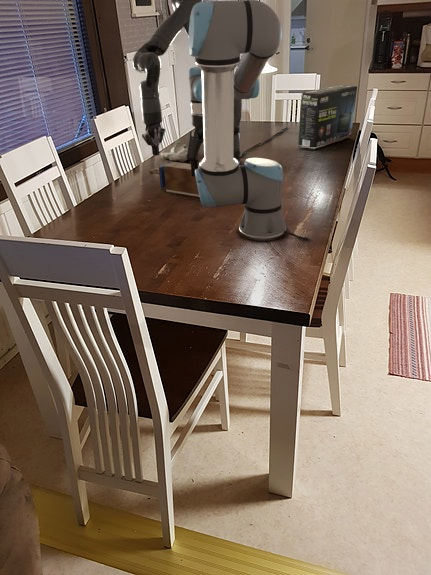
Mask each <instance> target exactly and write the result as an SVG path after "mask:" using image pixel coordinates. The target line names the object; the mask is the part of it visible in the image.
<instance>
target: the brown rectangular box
mask: <svg viewBox="0 0 431 575" xmlns="http://www.w3.org/2000/svg"><path fill="white" fill-rule="evenodd" d="M166 164H167V165H165V166H164V172H165V182H166V187H165V191H166V192H167V193H173V194H179V195H184V196H185V195H186V196H192V197H197V198H200V197H199V192H198V188H197V183H196V177H193V176H192V174H191V163H187V162H186V163H185V162H178V161H171V162H170V163H166ZM198 168H199V169H200V164H198Z"/></svg>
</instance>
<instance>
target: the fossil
mask: <svg viewBox="0 0 431 575" xmlns="http://www.w3.org/2000/svg"><path fill="white" fill-rule="evenodd" d="M187 151H188V146H187V145H186V143H184V142H183V143H181V142H176V143H175V145H174V146H173V147H172V148H171V149H170V150H168V149H165V150H162V151H161V152H160V156H161V158H162V159H163V160H169V161H173V162H178V161H179V163H185V162H187V161H188V160H189V159H187V158H186V157H187Z"/></svg>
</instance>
